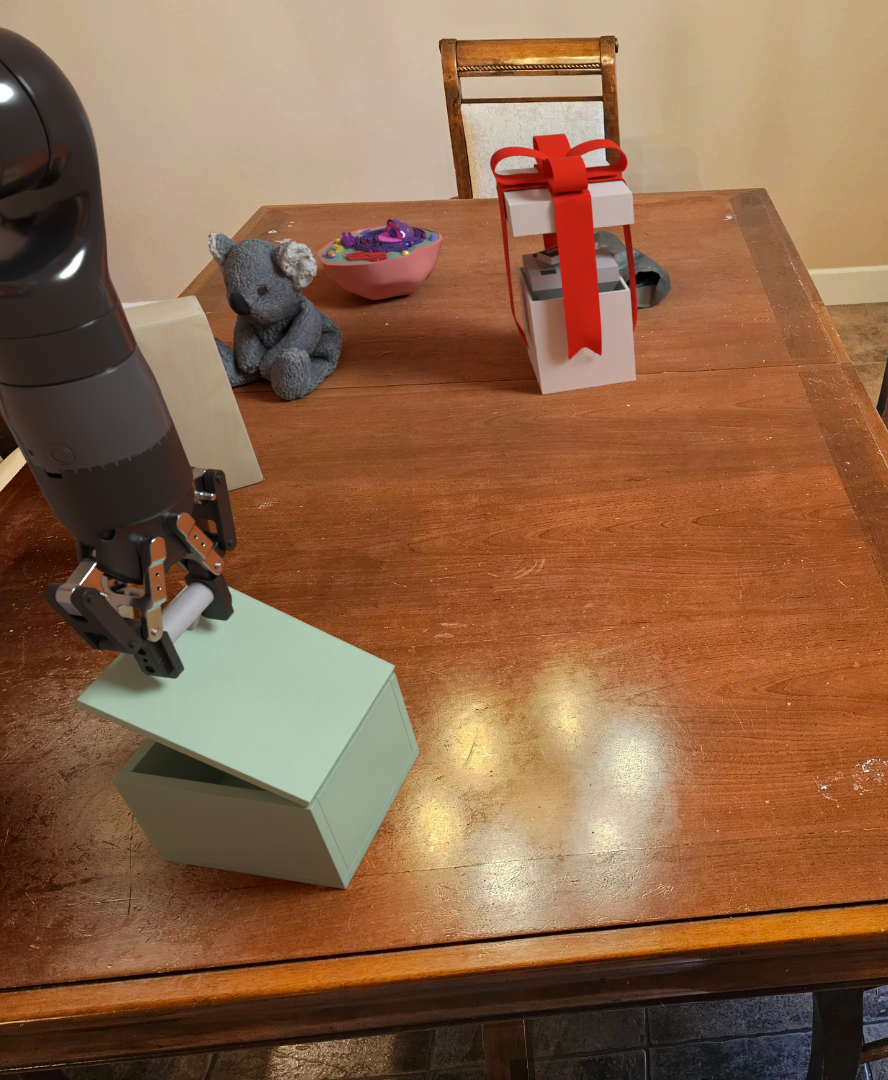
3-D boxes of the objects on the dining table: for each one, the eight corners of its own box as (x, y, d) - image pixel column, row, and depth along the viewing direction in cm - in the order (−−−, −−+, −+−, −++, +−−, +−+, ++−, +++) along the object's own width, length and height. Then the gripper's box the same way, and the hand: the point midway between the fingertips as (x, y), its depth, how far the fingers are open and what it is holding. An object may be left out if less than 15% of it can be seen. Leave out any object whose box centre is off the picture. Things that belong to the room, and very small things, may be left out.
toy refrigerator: (253, 453, 114) (193, 291, 102) (266, 480, 110) (205, 314, 97) (183, 473, 111) (112, 307, 98) (193, 502, 106) (120, 332, 93)
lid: (75, 706, 59) (79, 661, 56) (197, 578, 69) (206, 534, 66) (307, 808, 61) (323, 770, 58) (392, 671, 71) (410, 633, 68)
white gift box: (625, 334, 141) (610, 124, 123) (653, 384, 128) (640, 158, 110) (513, 350, 137) (480, 135, 119) (530, 403, 124) (496, 172, 106)
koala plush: (195, 390, 128) (140, 251, 116) (277, 336, 141) (236, 206, 129) (303, 406, 124) (258, 264, 112) (377, 349, 138) (344, 217, 126)
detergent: (682, 305, 149) (636, 250, 168) (677, 263, 145) (631, 211, 163) (604, 324, 146) (566, 266, 164) (597, 282, 142) (559, 227, 160)
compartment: (161, 860, 69) (110, 780, 63) (257, 729, 79) (220, 650, 73) (345, 889, 67) (310, 809, 61) (420, 752, 77) (395, 672, 71)
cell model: (311, 293, 154) (292, 225, 148) (420, 263, 165) (407, 199, 158) (356, 324, 144) (337, 253, 138) (469, 290, 155) (457, 223, 148)
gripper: (121, 365, 59) (206, 571, 69) (-66, 491, 48) (69, 715, 58) (230, 377, 58) (300, 584, 68) (65, 508, 47) (178, 732, 57)
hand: (193, 643), depth 63 cm, fingers closed on lid, 5 cm apart
